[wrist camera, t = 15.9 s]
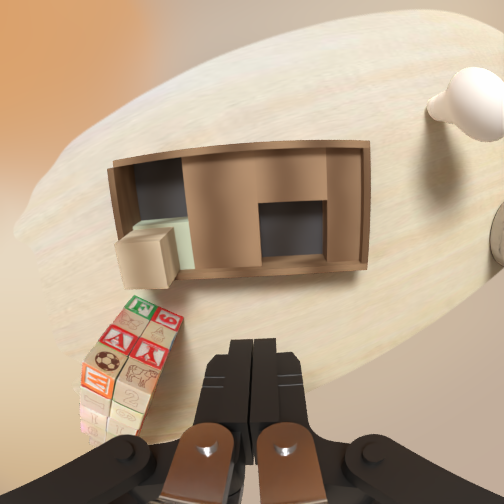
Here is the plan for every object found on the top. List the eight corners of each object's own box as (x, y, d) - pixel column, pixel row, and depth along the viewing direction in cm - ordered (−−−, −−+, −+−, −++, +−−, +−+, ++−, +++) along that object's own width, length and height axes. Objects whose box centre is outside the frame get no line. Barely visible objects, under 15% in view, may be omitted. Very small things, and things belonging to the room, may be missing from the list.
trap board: (357, 140, 25) (375, 140, 20) (356, 256, 29) (371, 275, 24) (128, 158, 26) (106, 161, 22) (145, 267, 30) (128, 286, 25)
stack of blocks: (146, 416, 39) (123, 479, 27) (109, 399, 38) (80, 459, 26) (184, 315, 32) (151, 397, 20) (133, 292, 31) (80, 362, 19)
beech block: (173, 226, 26) (159, 240, 22) (180, 268, 27) (168, 288, 23) (133, 229, 26) (114, 244, 22) (141, 270, 27) (124, 289, 23)
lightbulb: (456, 142, 24) (529, 150, 14) (409, 135, 24) (479, 137, 14) (453, 86, 22) (523, 74, 11) (405, 76, 22) (471, 51, 12)
